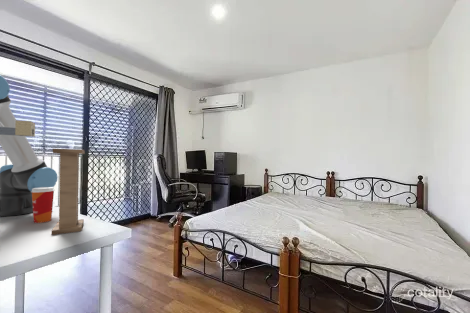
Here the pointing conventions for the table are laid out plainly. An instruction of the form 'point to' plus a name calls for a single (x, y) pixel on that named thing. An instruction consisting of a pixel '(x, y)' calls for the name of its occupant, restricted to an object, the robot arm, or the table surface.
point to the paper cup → (42, 204)
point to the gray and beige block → (20, 129)
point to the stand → (68, 192)
